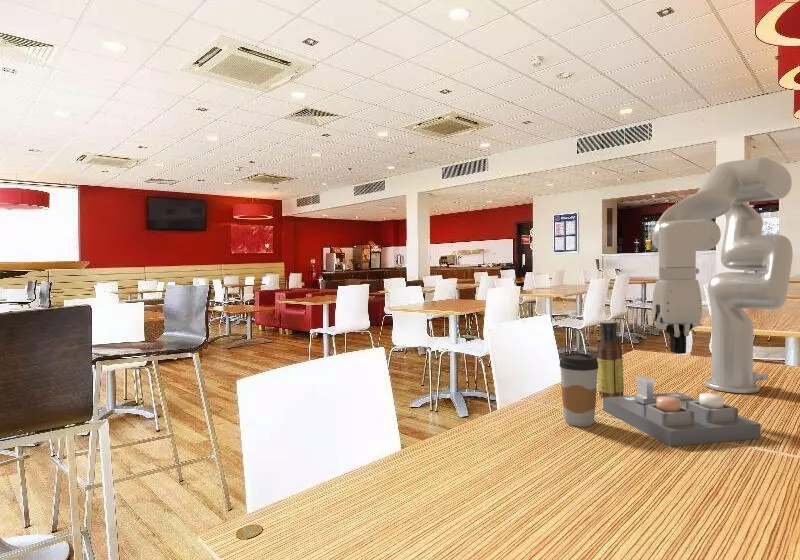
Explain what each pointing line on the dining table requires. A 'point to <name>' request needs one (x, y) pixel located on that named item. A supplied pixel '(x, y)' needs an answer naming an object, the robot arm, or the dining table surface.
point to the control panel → (683, 421)
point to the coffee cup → (579, 388)
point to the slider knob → (645, 390)
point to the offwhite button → (711, 401)
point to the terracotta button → (668, 404)
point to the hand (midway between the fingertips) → (678, 352)
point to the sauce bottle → (610, 362)
